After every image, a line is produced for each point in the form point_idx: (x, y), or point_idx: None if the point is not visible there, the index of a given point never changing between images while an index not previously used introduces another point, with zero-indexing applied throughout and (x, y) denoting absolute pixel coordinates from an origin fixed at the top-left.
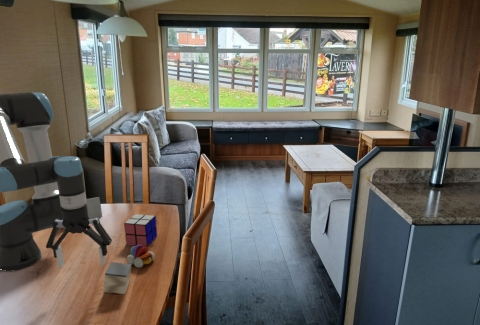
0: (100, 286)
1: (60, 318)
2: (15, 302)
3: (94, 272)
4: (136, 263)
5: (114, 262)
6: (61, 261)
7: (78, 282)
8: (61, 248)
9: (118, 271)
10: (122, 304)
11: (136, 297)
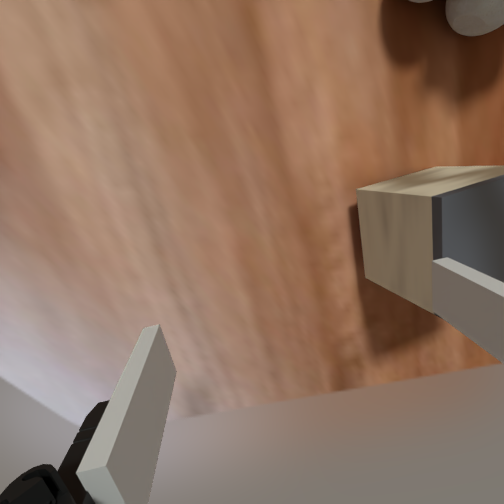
0: (319, 218)
1: (266, 396)
2: (34, 362)
3: (229, 103)
4: (479, 26)
5: (461, 192)
6: (162, 379)
7: (200, 203)
8: (120, 447)
9: (496, 269)
10: None
11: None
